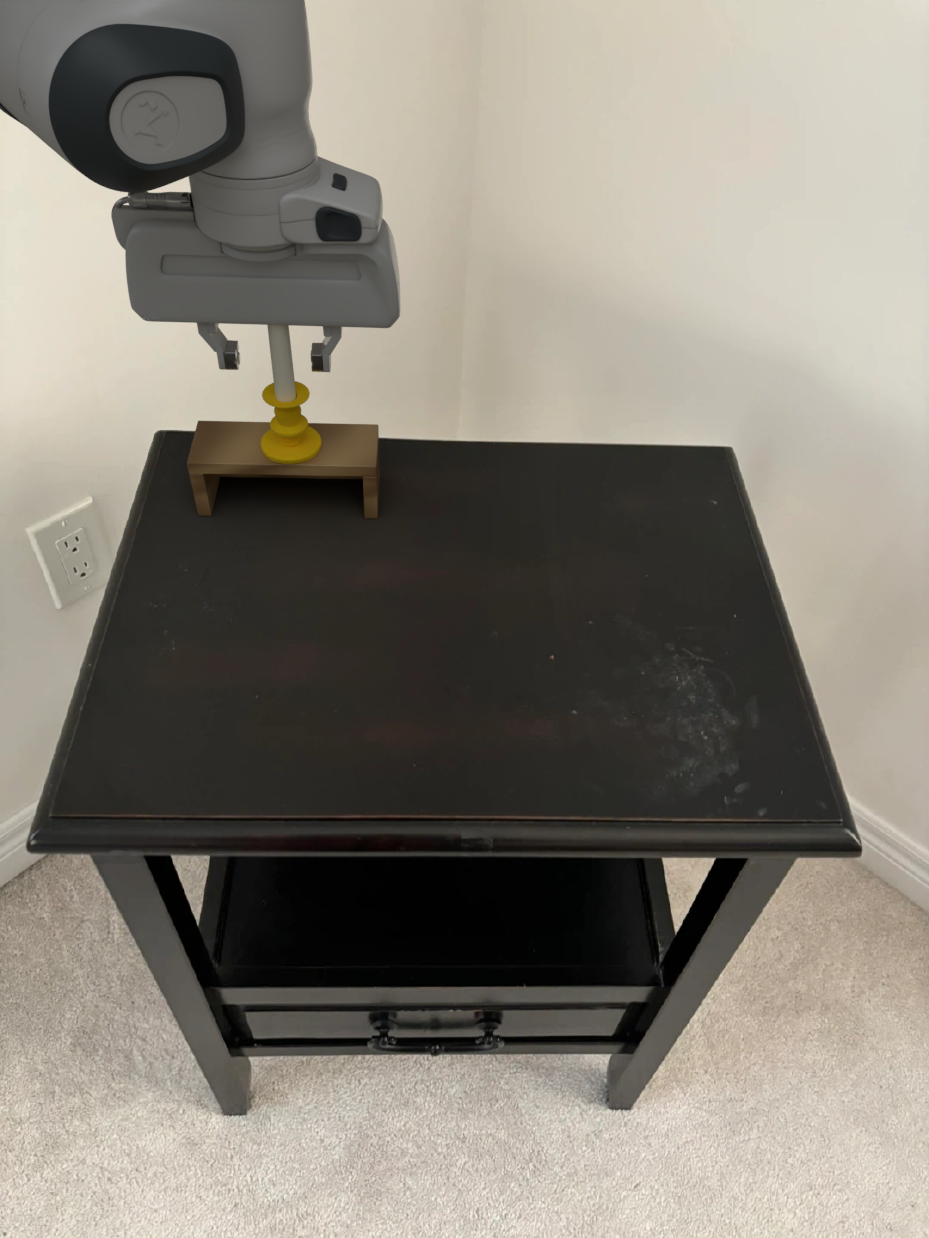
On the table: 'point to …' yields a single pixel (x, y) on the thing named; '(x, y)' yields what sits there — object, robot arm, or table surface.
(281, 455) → the candle
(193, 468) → the shelf
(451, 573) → the table surface
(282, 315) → the robot arm
